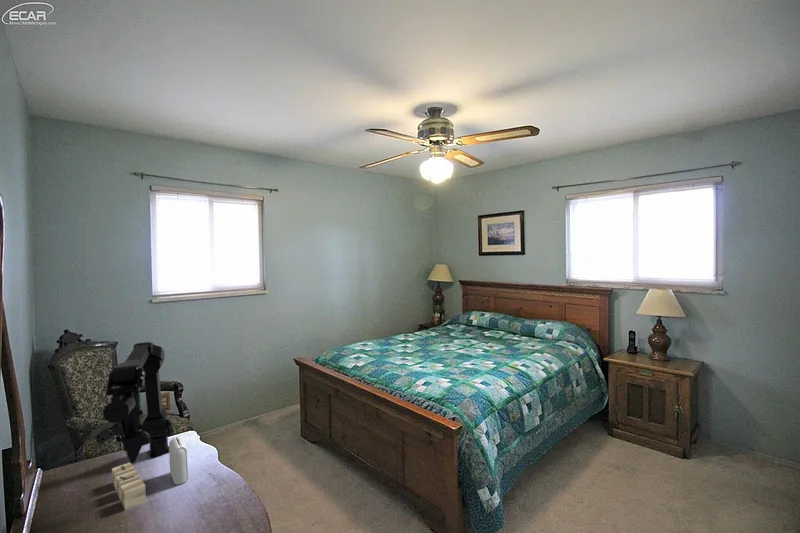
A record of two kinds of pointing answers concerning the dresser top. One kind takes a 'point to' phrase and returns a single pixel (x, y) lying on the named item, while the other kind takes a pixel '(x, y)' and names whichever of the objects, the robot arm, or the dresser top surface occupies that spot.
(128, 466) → the block one
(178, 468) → the white rounded slab
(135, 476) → the block seven
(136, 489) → the plain block
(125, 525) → the dresser top surface
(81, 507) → the dresser top surface
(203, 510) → the dresser top surface
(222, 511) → the dresser top surface
